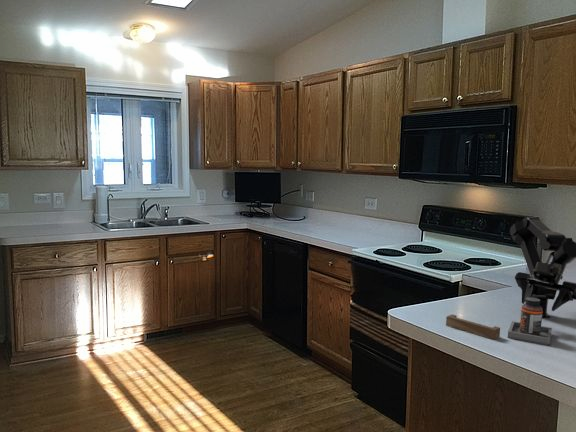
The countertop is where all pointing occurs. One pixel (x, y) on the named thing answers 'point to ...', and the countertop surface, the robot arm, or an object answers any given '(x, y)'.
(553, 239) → the robot arm
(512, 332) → the grey square tray
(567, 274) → the countertop surface
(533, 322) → the supplement bottle
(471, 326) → the wooden dock
